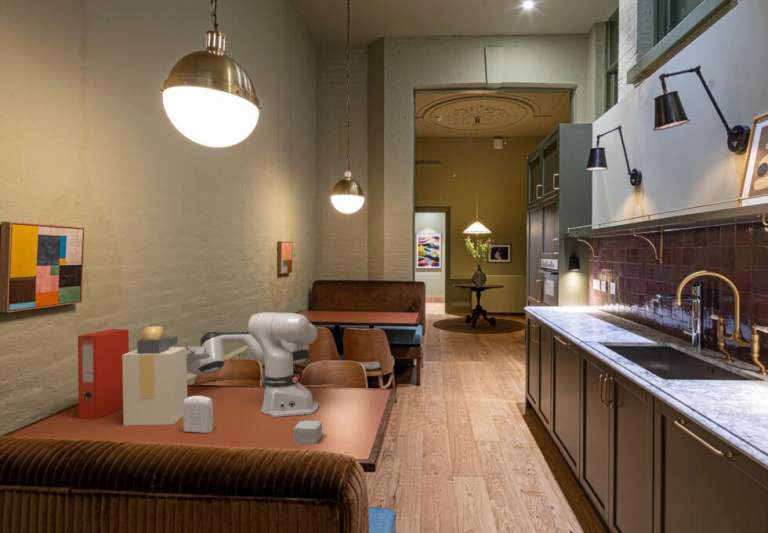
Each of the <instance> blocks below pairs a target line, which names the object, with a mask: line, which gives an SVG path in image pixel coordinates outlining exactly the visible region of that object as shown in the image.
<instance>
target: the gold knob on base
mask: <svg viewBox="0 0 768 533" xmlns="http://www.w3.org/2000/svg"><path fill="white" fill-rule="evenodd" d="M141 333H142V334H141V338H140V339H138V340H137V343H136V345H137V349H136V350H137V353H138V354H160V353H162V352H164V351H167V350H169V347H174V346H175V345H177V344H178V336H177V335H175V336H165V330H164V327H163V326H159V325H157V326H155V325H154V326H145V327H144V328H143V330H142V332H141Z"/></svg>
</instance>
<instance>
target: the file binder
mask: <svg viewBox="0 0 768 533" xmlns="http://www.w3.org/2000/svg"><path fill="white" fill-rule="evenodd" d="M129 332H130V331H129V329H127V328H126V329H124V328H122V329H120V328H118V329H117V328H115V329H114V328H110V329H106V330H102V331H97V332H96V331H95V332H90V333H85V334H81V335H78V336H77V361H78V362H77V367H78V368H77V371H78V372H77V374H78V376H77V378H78V379H77V382H78V383H77V384H78V418H79V419H80V418H82V420H93V419H95V421H96V419H97V420H99V419H101V418H103V416H104V417H105V416H106V417H107V416H108V415H111V414H113V413H115V412H117V411H120V410H122V409H123V364H122V355H123V354H126V353H128V352H130V347H129V346H130V344H129V340H130V339H129V338H130V336H129ZM98 418H99V419H98Z"/></svg>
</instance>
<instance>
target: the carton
mask: <svg viewBox="0 0 768 533" xmlns="http://www.w3.org/2000/svg"><path fill="white" fill-rule="evenodd" d="M175 347H176V348H169V350H167V351H164V352H162V353H160V354H138V353H137V349H134V350H131V351H129V352H128V353H126V354H123V355H122V364H123V408H122V409H123V411H122V412H123V413H122V414H123V426H153V425H155V426H156V425H157V426H158V425H159V426H161V425H162V426H163V425H164V426H165V425H166V426H167V425H174V424H175V423H177V422H178V421H179V420H180V419H182V418H183V403H184V400H185V398H188V371H187V348H186V346H180V347H179V346H175ZM181 417H182V418H181Z"/></svg>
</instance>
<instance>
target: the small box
mask: <svg viewBox="0 0 768 533" xmlns="http://www.w3.org/2000/svg"><path fill="white" fill-rule="evenodd" d="M322 436H323V421H322V420H306V419H305V420H304V419H303V420H300V421H299V422H298V423H297V424H296V426H294V427H293V444H304V445H305V444H307V445H309V444H310V445H312V444H313V445H317V443H318V442H319V440H320V439H321V437H322Z"/></svg>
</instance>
